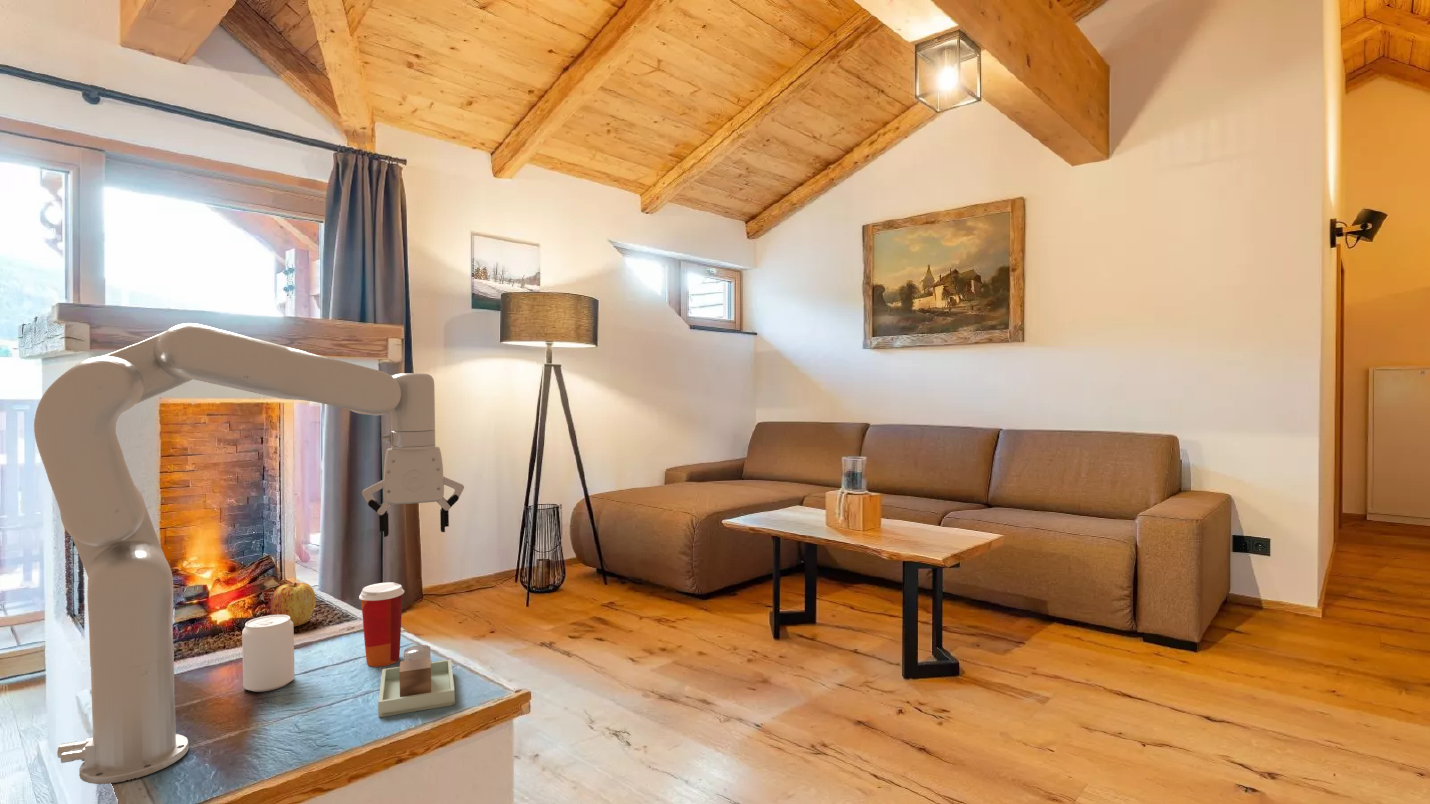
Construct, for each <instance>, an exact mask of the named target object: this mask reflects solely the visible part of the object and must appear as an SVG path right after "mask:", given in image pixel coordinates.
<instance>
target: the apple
mask: <svg viewBox="0 0 1430 804" xmlns="http://www.w3.org/2000/svg"><path fill="white" fill-rule="evenodd" d="M316 602H317V598H316V593H315V591H314V589H313V587H312V586H311V585H310V584H309V583H306V582H292V583H286V584H282V585H280V586H278V587H277V588H276V589H275V590H274V591H273V593H272V595H271V599H270V610H271V615H288V616H290V620H291V621H292V622H293V627H294V628H295V627H299V626H301V625H304V624H306V623H307V622H309V620H310V618H311V617H312V614H313V613H314V610H315V608H316V605H317V604H316Z"/></svg>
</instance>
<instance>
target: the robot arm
mask: <svg viewBox="0 0 1430 804" xmlns="http://www.w3.org/2000/svg"><path fill="white" fill-rule="evenodd" d="M192 380H194V381H199V382H204V383H208V384H212V385H218V386H223V387H226V388H232V389H236V390H241V391H245V392H248V393H253V394H258V395H262V396H268V397H272V398H278V399H283V400H292V401H294V400H295V401H307V402H313V403H317V404H323V405H329V406H332V407H338V408H343V409H347V410H349V411H350V412H353V413H355V414H359V415H360V414H361V415H370V416H384V415H387V414H389V413H390V432H389V433H388V434H382V435H381V441H382V443H386V444H389V445H390V448H387V449H386V451H385V457H384V462H383V463H384V466H383V479H382V480H380V481H378V482H376V483H374V484H372V485H371V486H368V487H367V488H364V489H363V490H362V492H361V495H362V497H363V498H364V500H365V501H366V503H367V505H368V507H370V508H371V509H372V510H373V511H375V512H376V513H377V514H378V516H379V517H378V518H379V519H378V520H379V532H380V533H381V532H383V537H384V538H387V537H389V533H390V529H389V522H390V521H389V519H390V518H389V512H388V510H389V508H391V506H392V505H407V504H410V505H411V504H422V503H425V504H426V503H435V502H436V503H437V504H438V505H439V506H440V507H441V509H440V510H439V513H440V518H439V519H440V520H439V521H440V523H439V524H440V525H439V526H440V532H442V533H446V527H449V526H450V521H449V520H450V518H449V517H450V515H449V514H450V513H449V511H450V510H451V508H452V507H453V506H454V505H455V504H456V503H457V502H458V501H459V499H460V497H461V495H462V494H463V491H464V489H465V486H464V484H462V483H460V482H457V481H455V480H453V479H451V478H448V477H446V476H444V466H443V457H442V452H441V451H442V450H441V447H439V446H436V410H435V409H436V406H435V405H436V403H435V400H436V399H435V395H436V393H435V379H434V378H433V376H432V375H431V374H429V373H421V372H419V373H417V372H411V373H410V372H407V373H405V372H404V373H396V374H389V373H387V372H385V371H382V370H378V369H374V368H370V367H368V366H367V367H366V366H363V365H359V364H355V363H350V362H347V361H343V360H340V359H335V358H330V357H326V356H322V355H318V354H314V353H311V352H307V351H305V350H301V349H297V348H293V347H290V346H286V345H281V344H276V343H273V342H270V341H266V340H261V339H259V338H254V337H250V336H246V335H243V334H240V333H239V334H238V333H236V332H232V331H227V330H224V329H219V328H216V327H212V326H210V325H204V324H200V323H194V322H193V323H192V322H187V323H180V324H176V325H174V326H172V327H170V328H169V329H167V330H165V331H162V332H161V333H158V334H156V335H154V336H152V337H149V338H147V339H145V340H141V341H139V342H136V343H134V344H132V345H129V346H125V347H124V348H120V349H118V350H115V351H113V352H110V353H107V354H103V355H100V356H94V357H90V358H87V359H85V360H82V361H81V362H78V363H76V364H75V365H74V366H72V367H71V368H69V369H68V370H66V372H64V373H63V374H62V375H60V376H59V377H58V378H57V379H56V380H55V381H54V382H52V384H50V385H49V387H47V389H46V390H45V392H44V394H43V395H42V397H41V399H40V400H39V402H38V404H37V408H36V411H35V414H34V420H33V421H34V422H33V428H34V429H33V432H34V438H35V439H34V440H35V443H36V446H37V449H38V453H39V456H40V459H41V461H42V465H43V466H44V470H45V473H46V475H47V479H48V482H49V485H50V487H51V490H52V492H53V494H54V497H55V500H56V502H57V505H58V508H59V512H60V513H59V515H60V520H61V524H62V526H63V528H64V529H65V531H66V532H67V533H68V534H69V535H70V536H71V538H72V541H73V544H74V546H75V548H76V551H77V553H78V555H79V558H80V561H81V563H82V567H83V568H84V570H85V573H86V576H87V595H86V596H87V597H86V598H87V612H88V636H89V639H88V640H89V663H90V664H89V666H90V678H91V679H90V681H91V712H92V713H91V717H92V718H91V719H92V721H91V722H92V736H91V737H87V739H86V740H84V741H71V742H63V743H60V744H59V745H58V747H57V752H56V755H57V756H56V757H57V758H58V759H60V763H61V764H65V763H71V762H75V761H80V760H81V761H82V764H81V765H80V766H79V769H78V771H79V774H78V775H79V779H80V780H81V781H82V782H85V783H88V784H94V785H106V784H115V783H117V784H118V783H122V782H127V781H126V780H128V781H131V779H132V780H135V779H134V778H136V779H138V778H142V777H145V776H148V775H150V774H153V773H154V774H155V773H156V772H158V771H161V770H164V769H165V768H168V767H169V766H171V765H173V764H176V762H178V761H179V760H180V759H182V758H183V757H184V756H185V755H186V753H187V752H188V751H189V747H190V745H189V744H190V743H189V738H187V737H186V736H184V735H182V734H179V733H176V730H177V729H176V728H177V727H176V725H177V724H176V699H175V698H176V694H175V693H176V692H175V660H174V659H175V655H174V654H175V653H174V627H173V625H174V621H173V620H174V619H173V616H174V579H173V578H174V577H173V573H172V569H171V566H170V563H169V561H168V560H167V558H166V556H165V553H164V551H163V549H162V547H161V543H160V541H159V538H158V536H157V533H156V530H155V528H154V525H153V522H152V519H151V516H150V514H149V511H148V508H147V506H146V503H145V498H144V496H143V495H142V492H141V491H140V489H139V488H138V486H137V485H136V484H135V483H134V481H133V478H132V476H131V474H130V471H129V469H128V466H127V463H126V460H125V457H124V454H123V451H122V447H121V444H120V442H119V439H118V436H117V431H116V428H117V423H118V419H119V417H120V416H121V415H122V414H123V413H124V412H126V411H128V410H130V409H131V408H133V407H134V406H135V405H138V404H140V403H142V402H144V401H148V400H150V399H151V398H154V397H156V396H159V395H161V394H163V393H166V392H168V391H171V390H172V389H175V388H177V387H179V386H182V385H183V384H186V383H188V382H190V381H192ZM445 486H447V487H450V488H452V489H453V490H454V491H453V494H452V495H451V496H450V497H449V498H448V499H446V498H445V497H444V496H445V495H444V493H445ZM382 489H383V491H382V492H383V500H384V501H382V503H380V502H378V501H377V500H376V499H375V498H374V496H373V494H374V493H377V492H379V491H380V490H382Z"/></svg>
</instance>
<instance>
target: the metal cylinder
mask: <svg viewBox="0 0 1430 804" xmlns="http://www.w3.org/2000/svg"><path fill="white" fill-rule="evenodd" d="M429 657H431V646H429V645H426V644H418V645H417V644H416V645H413V646H409V647H407V648H405V649H404V650H403V661H408V660H415V659H422V658H429Z"/></svg>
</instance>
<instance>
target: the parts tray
mask: <svg viewBox="0 0 1430 804" xmlns="http://www.w3.org/2000/svg"><path fill="white" fill-rule="evenodd" d="M381 670H382V671H381V678H380V686H379V692H378V693H379V694H378V701H377V703H378V704H377V705H378V707H377V708H378V710H377V711H378V714H377V715H378V718H383V717H389V716H396V715H402V714H407V713H414V712H419V711H425V710H432V709H438V708H443V707H445V708H446V707H449V706H455V703H456V699H455V683H454V682H455V681H454V676H453V675H454V674H453V665H452V659H451V658H450V659H444V660H437V661H431V692H430V693H424V694H418V695H411V696H405V697H400V675H399V671H400V666H395V667H388V668H382V669H381Z"/></svg>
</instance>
